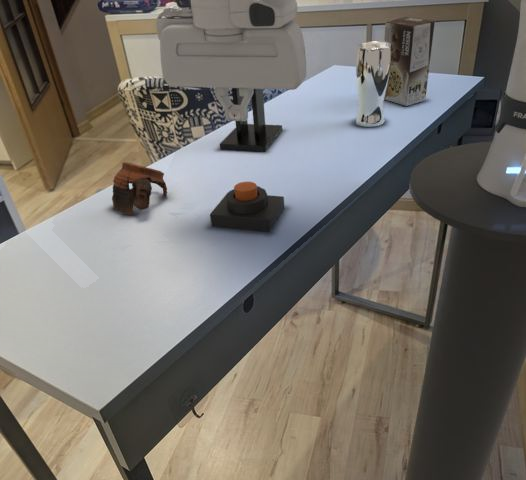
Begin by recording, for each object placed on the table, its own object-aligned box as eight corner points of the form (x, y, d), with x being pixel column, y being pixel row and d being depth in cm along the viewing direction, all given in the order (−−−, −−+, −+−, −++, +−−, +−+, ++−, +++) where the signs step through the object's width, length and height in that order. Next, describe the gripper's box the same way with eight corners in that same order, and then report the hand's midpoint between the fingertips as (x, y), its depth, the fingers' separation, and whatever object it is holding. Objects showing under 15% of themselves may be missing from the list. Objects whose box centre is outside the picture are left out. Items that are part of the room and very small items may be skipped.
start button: (260, 192, 84) (259, 182, 83) (253, 202, 81) (252, 192, 80) (239, 190, 85) (238, 180, 84) (232, 200, 82) (230, 190, 81)
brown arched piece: (105, 205, 94) (112, 158, 92) (155, 215, 99) (163, 171, 96) (116, 215, 84) (125, 162, 82) (172, 226, 89) (182, 176, 86)
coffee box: (426, 100, 122) (436, 20, 111) (406, 107, 119) (414, 25, 109) (399, 92, 128) (406, 15, 117) (379, 98, 125) (384, 20, 115)
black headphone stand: (240, 129, 117) (231, 50, 106) (282, 130, 114) (278, 49, 104) (220, 149, 109) (209, 66, 98) (265, 152, 106) (259, 66, 95)
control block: (284, 208, 87) (283, 185, 84) (269, 232, 81) (268, 208, 79) (229, 204, 90) (226, 181, 87) (211, 226, 84) (207, 203, 82)
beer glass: (378, 114, 117) (383, 39, 107) (391, 124, 112) (398, 45, 102) (349, 119, 116) (351, 43, 106) (361, 130, 111) (365, 51, 101)
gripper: (142, 13, 67) (163, 124, 76) (295, 10, 61) (298, 130, 70) (164, 3, 71) (181, 109, 80) (309, 0, 65) (309, 115, 75)
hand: (237, 119), depth 75 cm, fingers closed
